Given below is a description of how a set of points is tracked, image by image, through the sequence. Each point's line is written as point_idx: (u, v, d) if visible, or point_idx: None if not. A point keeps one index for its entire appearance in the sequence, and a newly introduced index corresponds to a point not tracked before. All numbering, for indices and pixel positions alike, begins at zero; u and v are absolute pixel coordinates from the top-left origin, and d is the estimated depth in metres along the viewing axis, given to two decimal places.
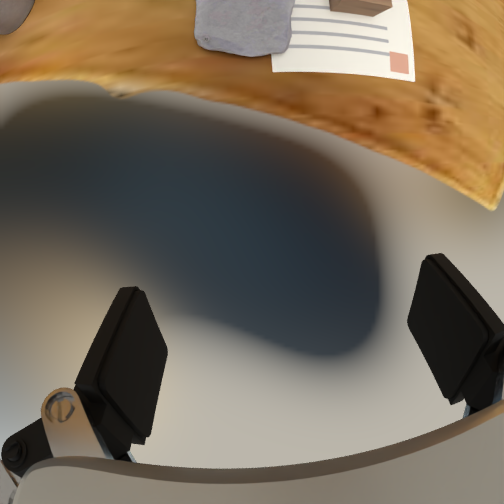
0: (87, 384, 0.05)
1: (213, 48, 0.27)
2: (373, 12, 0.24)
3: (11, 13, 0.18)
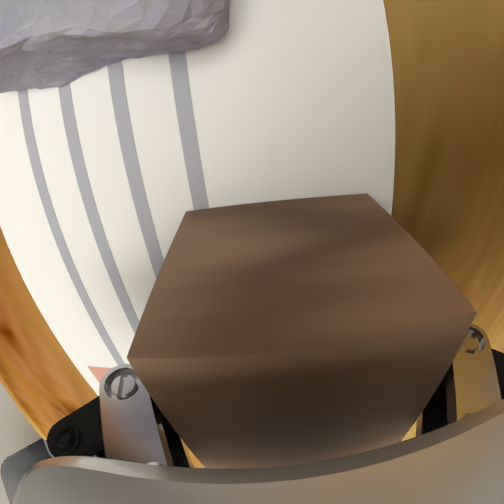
0: None
1: None
2: None
3: None
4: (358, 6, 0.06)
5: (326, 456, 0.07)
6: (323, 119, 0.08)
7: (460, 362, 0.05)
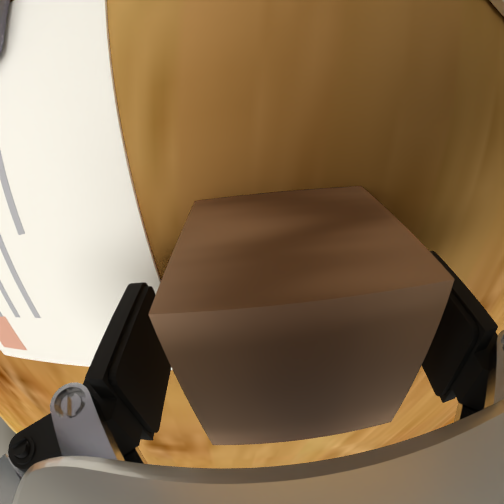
0: (98, 378, 0.05)
1: None
2: None
3: None
4: None
5: (325, 427, 0.08)
6: (55, 87, 0.08)
7: (503, 364, 0.04)
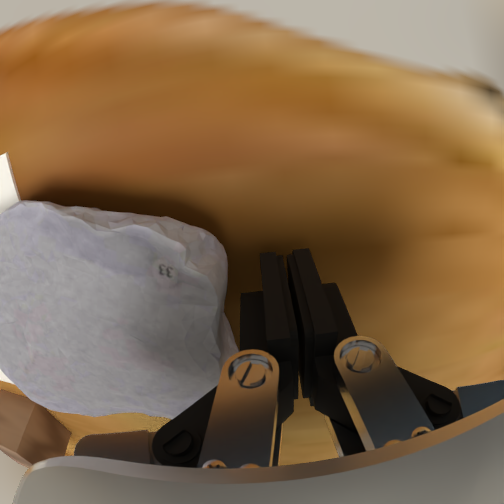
0: (285, 337, 0.06)
1: (126, 229, 0.07)
2: None
3: None
4: None
5: (8, 455, 0.14)
6: None
7: (358, 388, 0.05)
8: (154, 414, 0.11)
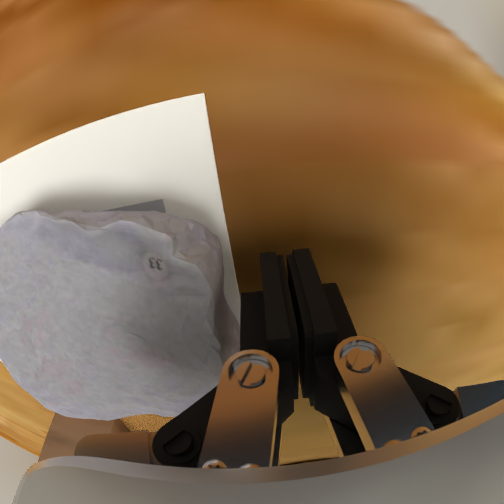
0: (285, 337, 0.06)
1: (113, 225, 0.07)
2: (57, 428, 0.16)
3: None
4: None
5: None
6: None
7: (358, 388, 0.05)
8: (166, 414, 0.11)
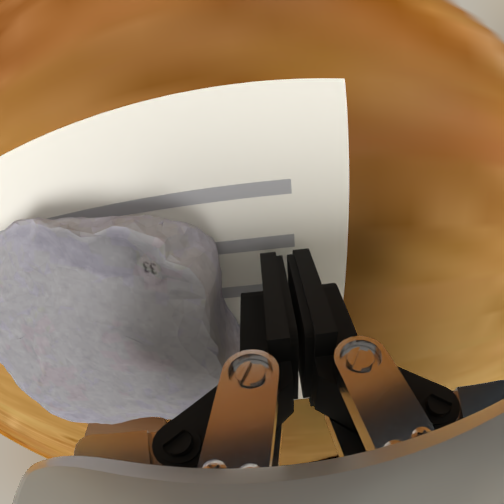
0: (285, 337, 0.06)
1: (106, 231, 0.07)
2: None
3: None
4: None
5: None
6: None
7: (358, 387, 0.05)
8: (169, 417, 0.11)
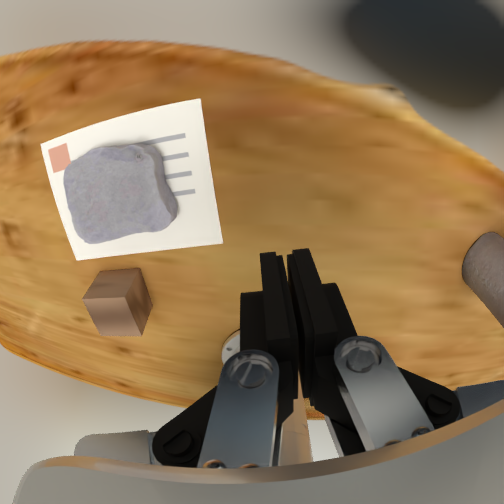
0: (285, 337, 0.06)
1: (127, 146, 0.25)
2: (99, 280, 0.33)
3: (490, 256, 0.30)
4: (208, 237, 0.33)
5: (98, 321, 0.32)
6: (171, 229, 0.32)
7: (358, 387, 0.05)
8: (139, 230, 0.29)
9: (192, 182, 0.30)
